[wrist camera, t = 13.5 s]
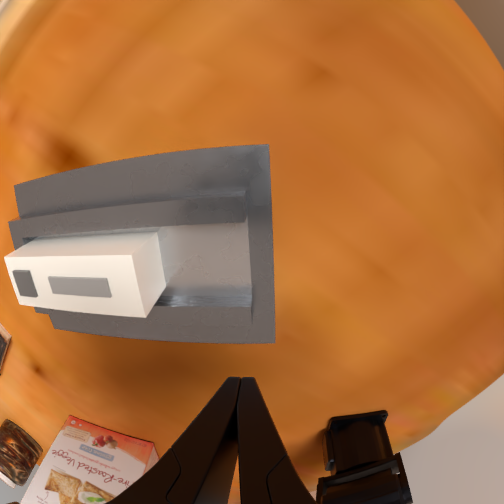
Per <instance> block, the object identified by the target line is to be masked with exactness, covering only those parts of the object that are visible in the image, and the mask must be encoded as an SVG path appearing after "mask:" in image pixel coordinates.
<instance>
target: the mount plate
mask: <svg viewBox="0 0 504 504" xmlns="http://www.w3.org/2000/svg"><path fill="white" fill-rule="evenodd" d="M14 188H15V195H16V201H17V206H18V211H19V216H20V217H18V218H15V219H13V220H11V221H9V222H8V223H9V227H10V232H11V236H12V240H13V244H14V248H15V250H17V249H18V248H20V247H22V246H23V245H25V244H27V243H29V242H30V241H32V240H34V239H42V238H56V237H71V236H87V235H105V234H123V233H144V232H157V234H158V241H159V248H160V254H161V260H162V266H163V271H164V277H165V282H166V287H165V289H164V291H163V292H162V294H161V295H160V297H159V298H158V300H157V301H156V303H155V304H154V306H153V307H152V309H151V311H150V312H149V314H148V315H147V317H146V318H142V317H128V316H115V315H103V314H93V313H83V312H74V311H65V310H57V309H49V308H41V307H34V309H35V311H36V312H37V313H44V314H49V316H50V319H51V321H52V324H53V326H54V329H60V330H67V331H73V332H80V333H88V334H96V335H104V336H113V337H122V338H133V339H145V340H158V341H174V342H195V343H239V344H252V343H275V295H274V258H273V228H272V202H271V178H270V157H269V144H262V145H243V146H228V147H216V148H205V149H195V150H186V151H177V152H169V153H162V154H155V155H148V156H141V157H135V158H129V159H123V160H118V161H112V162H107V163H102V164H97V165H92V166H87V167H83V168H78V169H74V170H69V171H65V172H61V173H57V174H53V175H49V176H45V177H42V178H38V179H34V180H31V181H27V182H24V183H21V184H17V185H14Z"/></svg>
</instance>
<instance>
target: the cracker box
mask: <svg viewBox="0 0 504 504" xmlns="http://www.w3.org/2000/svg"><path fill="white" fill-rule="evenodd" d="M158 460H159V457H158V455H157V452H156V449H155V447H154V444H153V443H151V442H147V441H143V440H140V439H136V438H132V437H129V436H126V435H122V434H119V433H116V432H113V431H110V430H107V429H104V428H101V427H99V426H96V425H93V424H90V423H88V422H85V421H83V420H80V419H78V418H75V417H73V416H69V417H68V419H67V420H66V422H65V424H64V425H63V427H62V429H61V430H60V432H59V434H58V435H57V437H56V439H55V440H54V442H53V444H52V446H51V447H50V449H49V451H48V452H47V454H46V456H45V458H44V459H43V461H42V463H41V465H40V467H39V469H38V471H37V472H36V474H35V476H34V478H33V480H32V482H31V483H30V485H29V487H28V489H27V491H26V493H25V495H24V497H23V499H22V501H21V503H20V504H104V503H106V502H108V501H110V500H112V499H114V498H115V497H116V496H118V495H119V494H120V493H122V492H123V491H124V490H125V489H127V488H128V487H129V486H130V485H132V484H133V483H134V482H135V481H137V480H138V479H139V478H140V477H141V476H143V475H144V474H145V473H146V472H147V471H148V470H149V469H150V468H152V467H153V466H154V465H155V464H156V463H157V462H158Z"/></svg>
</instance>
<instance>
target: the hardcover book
mask: <svg viewBox="0 0 504 504" xmlns="http://www.w3.org/2000/svg"><path fill="white" fill-rule="evenodd" d="M10 339H11V335H10V334H9V333H8V332H7V330H6V329H5V328H4V327H3V326H2V324H1V323H0V370H1V367H2V364H3V360H4V357H5V354H6V351H7V348H8V345H9V342H10ZM0 375H1V374H0Z"/></svg>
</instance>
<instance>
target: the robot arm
mask: <svg viewBox="0 0 504 504" xmlns="http://www.w3.org/2000/svg"><path fill="white" fill-rule="evenodd" d="M387 416H388V413H387V411H379V412H373V413H367V414H360V415H352V416H344V417H335V418H332V419H331V420H330V424H329V428H328V431H326V432H325V434H324V438H323V442H322V446H323V455H324V465H325V470H326V471H330V472H331V476H328V477H321V478H319V480H318V484H317V494H316V501H315V500H314V498H313V497H312V496H311V494H310V493H309V491H308V490H307V489H306V487H305V485H304V484H303V482H302V481H301V479H300V478H299V476H298V474H297V472H296V470H295V468H294V466H293V464H292V462H291V460H290V458H289V456H288V455H287V451H286V449H285V447H284V445H283V443H282V440H281V438H280V436H279V434H278V431H277V429H276V427H275V424H274V422H273V420H272V418H271V415H270V413H269V411H268V408H267V406H266V404H265V401H264V399H263V397H262V394H261V392H260V389H259V387H258V385H257V382H256V380H255V378H254V377H243V378H242V379H241V378H240V377H228V378H227V379H226V381H225V382H224V383H223V384H222V386H221V387H220V388H219V389H218V391H217V392H216V393H215V395H214V396H213V397H212V398H211V399H210V401H209V402H208V403H207V404H206V406H205V407H204V408H203V409H202V411H201V412H200V413H199V414H198V415H197V417H196V418H195V419H194V420H193V421H192V423H191V424H190V425H189V426H188V427H187V429H186V430H185V431H184V432H183V433H182V435H181V436H180V437H179V438H178V439H177V440H176V442H175V443H174V444H173V445H172V446H171V448H169V449H168V451H167V452H166V453H165V454H164V455H163V456H162V457H161V458H160V459H159V460H158V462H157V463H156V464H155V465H154V466H153V467H152V468H150V469H149V470H148V471H147V472H146V473H145V474H144V475H143V476H141V477H140V478H139V479H138V480H137V481H135V482H134V483H133V484H132V485H130V486H129V487H128V488H127V489H125V490H124V491H123V492H122V493H120V494H119V495H118V496H116V497H115V498H114V499H112V500H110V501H108V502H106V503H104V504H227V503H228V498H229V494H230V489H231V485H232V480H233V475H234V471H235V466H236V461H237V456H238V459H239V480H240V499H241V504H412V503H413V501H412V496H411V492H410V488H409V485H408V480H407V476H406V473H405V469H404V465H403V462H402V458H401V455H400V452H399V453H396V454H395V455H393V452H392V448H391V444H390V441H389V437H388V434H387V431H386V427H385V424H384V423H385V421H386V418H387ZM399 472H400V474H396V473H399ZM8 504H19V503H18V502H12V503H8Z"/></svg>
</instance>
